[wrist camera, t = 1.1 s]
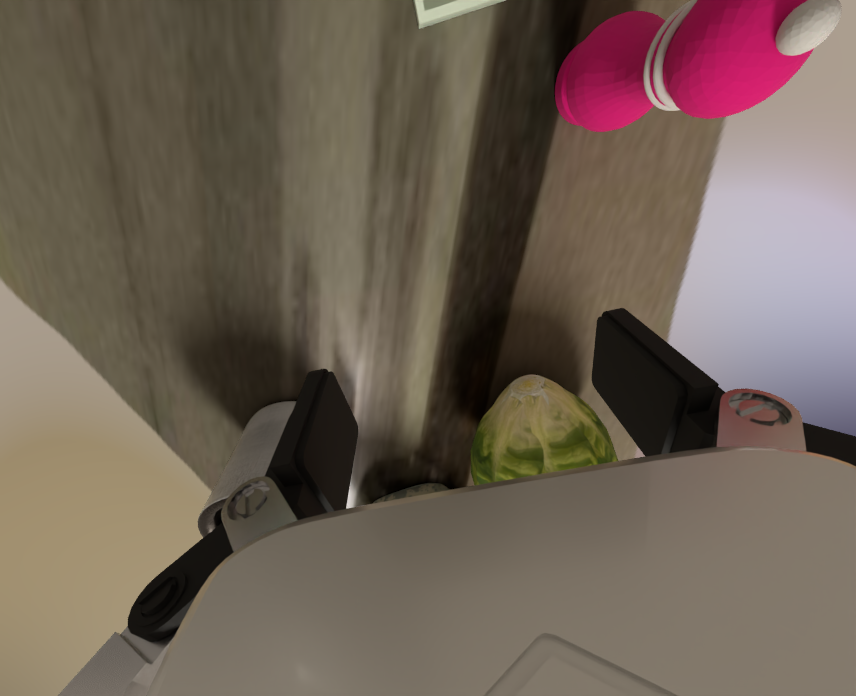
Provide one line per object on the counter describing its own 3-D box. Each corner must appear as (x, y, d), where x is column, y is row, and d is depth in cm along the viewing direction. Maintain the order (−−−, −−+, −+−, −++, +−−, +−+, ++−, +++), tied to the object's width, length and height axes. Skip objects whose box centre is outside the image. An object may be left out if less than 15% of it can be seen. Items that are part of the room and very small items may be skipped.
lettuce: (578, 332, 45) (634, 421, 29) (598, 452, 55) (649, 567, 39) (446, 364, 50) (433, 454, 34) (486, 469, 60) (491, 576, 44)
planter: (339, 389, 47) (314, 486, 34) (364, 459, 56) (352, 557, 43) (230, 403, 48) (165, 505, 35) (272, 470, 56) (233, 571, 43)
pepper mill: (564, 21, 27) (822, -157, 10) (644, 36, 28) (1003, -107, 11) (538, 126, 31) (694, 120, 14) (609, 136, 32) (834, 142, 15)
